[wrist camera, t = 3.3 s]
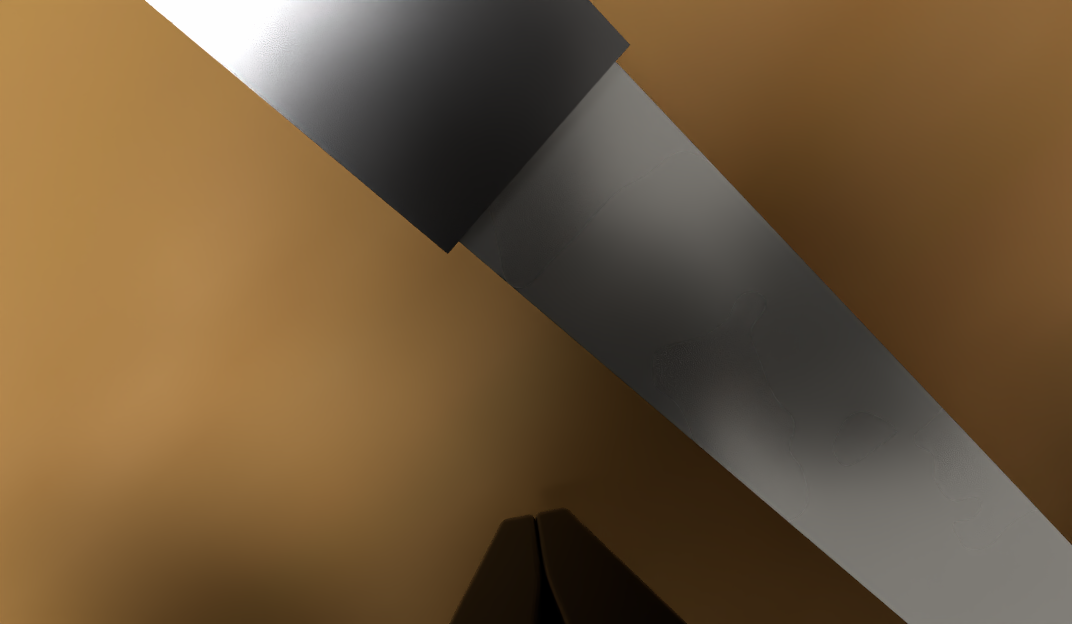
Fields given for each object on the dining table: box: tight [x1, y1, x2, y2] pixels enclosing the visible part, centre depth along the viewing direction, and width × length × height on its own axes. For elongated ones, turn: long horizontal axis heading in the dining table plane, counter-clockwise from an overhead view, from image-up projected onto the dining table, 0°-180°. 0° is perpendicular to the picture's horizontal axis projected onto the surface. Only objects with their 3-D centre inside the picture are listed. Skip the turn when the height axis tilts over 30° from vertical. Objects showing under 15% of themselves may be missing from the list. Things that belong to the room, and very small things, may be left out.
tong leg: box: [146, 0, 1072, 624], centre depth 7 cm, size 19×2×3 cm, turn 48°
